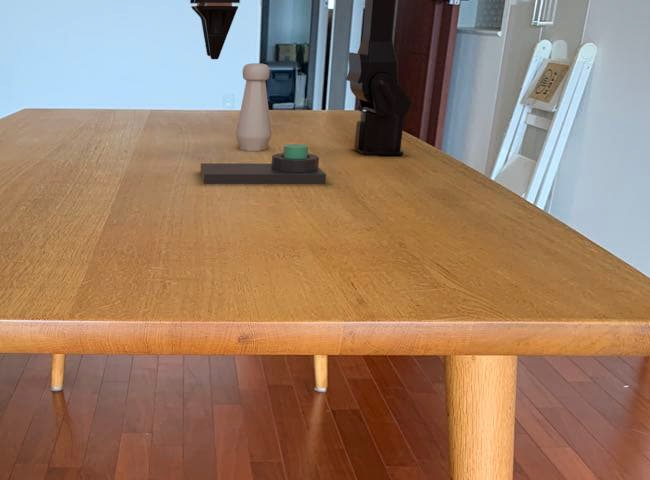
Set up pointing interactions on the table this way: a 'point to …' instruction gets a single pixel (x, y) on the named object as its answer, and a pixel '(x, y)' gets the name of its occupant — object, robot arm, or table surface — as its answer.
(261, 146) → the salt shaker
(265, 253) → the table surface
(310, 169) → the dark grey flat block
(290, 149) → the button
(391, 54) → the robot arm
